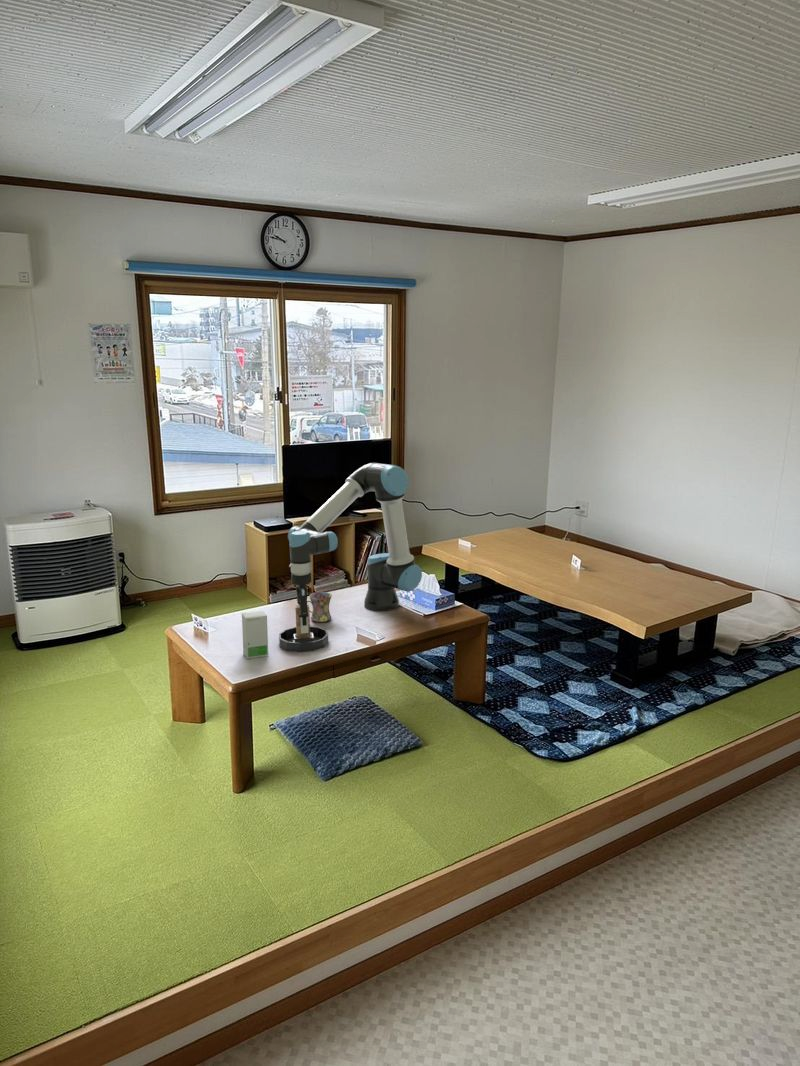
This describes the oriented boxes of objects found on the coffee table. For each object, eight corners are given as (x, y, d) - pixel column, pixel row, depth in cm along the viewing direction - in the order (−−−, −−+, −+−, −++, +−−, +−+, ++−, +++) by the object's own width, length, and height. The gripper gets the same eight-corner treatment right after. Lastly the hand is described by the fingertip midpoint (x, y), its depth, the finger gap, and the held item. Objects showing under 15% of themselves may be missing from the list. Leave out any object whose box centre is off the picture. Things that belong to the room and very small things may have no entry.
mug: (325, 614, 317) (324, 590, 314) (336, 620, 309) (335, 596, 307) (300, 620, 310) (299, 595, 308) (310, 626, 303) (310, 601, 300)
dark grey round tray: (325, 633, 295) (324, 624, 294) (330, 649, 278) (330, 640, 277) (278, 636, 292) (278, 628, 291) (280, 654, 274) (280, 645, 273)
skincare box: (246, 659, 269) (244, 618, 266) (242, 653, 275) (240, 612, 272) (269, 655, 273) (267, 615, 269) (265, 649, 279) (263, 609, 275)
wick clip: (313, 638, 288) (312, 632, 287) (314, 643, 283) (314, 637, 282) (293, 640, 286) (293, 634, 286) (294, 645, 281) (293, 638, 281)
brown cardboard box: (309, 639, 286) (308, 604, 283) (310, 642, 284) (309, 607, 281) (296, 640, 285) (295, 605, 282) (297, 643, 283) (295, 608, 280)
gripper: (288, 564, 290) (291, 616, 294) (293, 582, 266) (295, 639, 271) (308, 563, 291) (310, 615, 296) (314, 581, 267) (316, 637, 272)
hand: (303, 626), depth 283 cm, fingers open, 13 cm apart
